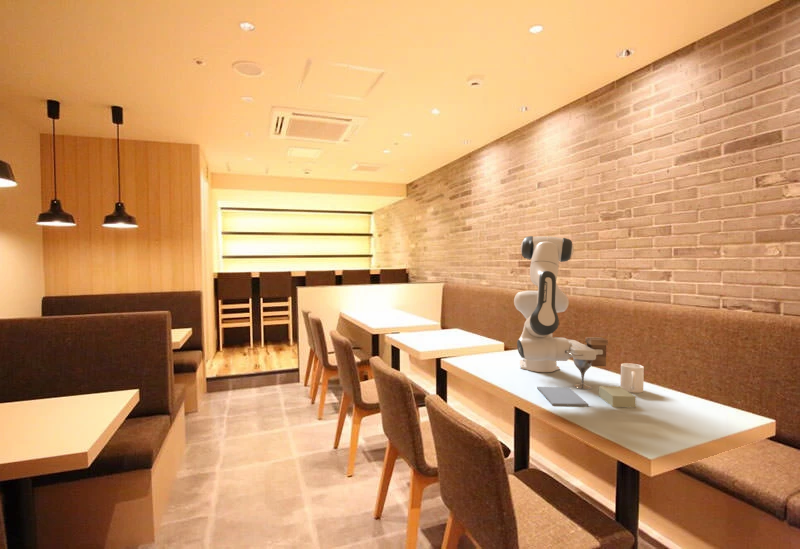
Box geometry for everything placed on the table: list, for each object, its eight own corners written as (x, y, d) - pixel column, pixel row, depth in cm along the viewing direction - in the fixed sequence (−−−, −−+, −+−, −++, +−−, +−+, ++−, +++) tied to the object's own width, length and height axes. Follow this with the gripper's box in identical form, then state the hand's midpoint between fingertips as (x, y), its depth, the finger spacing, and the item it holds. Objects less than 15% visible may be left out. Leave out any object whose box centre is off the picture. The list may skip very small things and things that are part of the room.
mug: (645, 397, 159) (646, 371, 159) (621, 394, 162) (622, 368, 162) (642, 388, 170) (642, 364, 169) (619, 386, 173) (620, 362, 173)
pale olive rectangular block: (598, 396, 160) (599, 386, 160) (619, 396, 160) (619, 386, 159) (612, 406, 148) (613, 396, 148) (635, 407, 148) (635, 396, 147)
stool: (592, 369, 157) (572, 349, 158) (613, 349, 157) (593, 329, 157) (599, 372, 152) (578, 352, 152) (620, 352, 151) (599, 331, 151)
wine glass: (569, 386, 172) (569, 351, 172) (576, 382, 178) (577, 348, 177) (588, 390, 167) (589, 354, 166) (595, 386, 172) (596, 351, 172)
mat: (537, 388, 169) (537, 386, 169) (569, 389, 169) (569, 387, 169) (552, 405, 149) (552, 403, 149) (588, 406, 149) (588, 404, 149)
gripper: (571, 346, 145) (610, 347, 144) (552, 336, 165) (587, 336, 164) (570, 364, 145) (610, 364, 144) (552, 351, 165) (587, 352, 164)
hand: (598, 349), depth 154 cm, fingers closed on stool, 5 cm apart
